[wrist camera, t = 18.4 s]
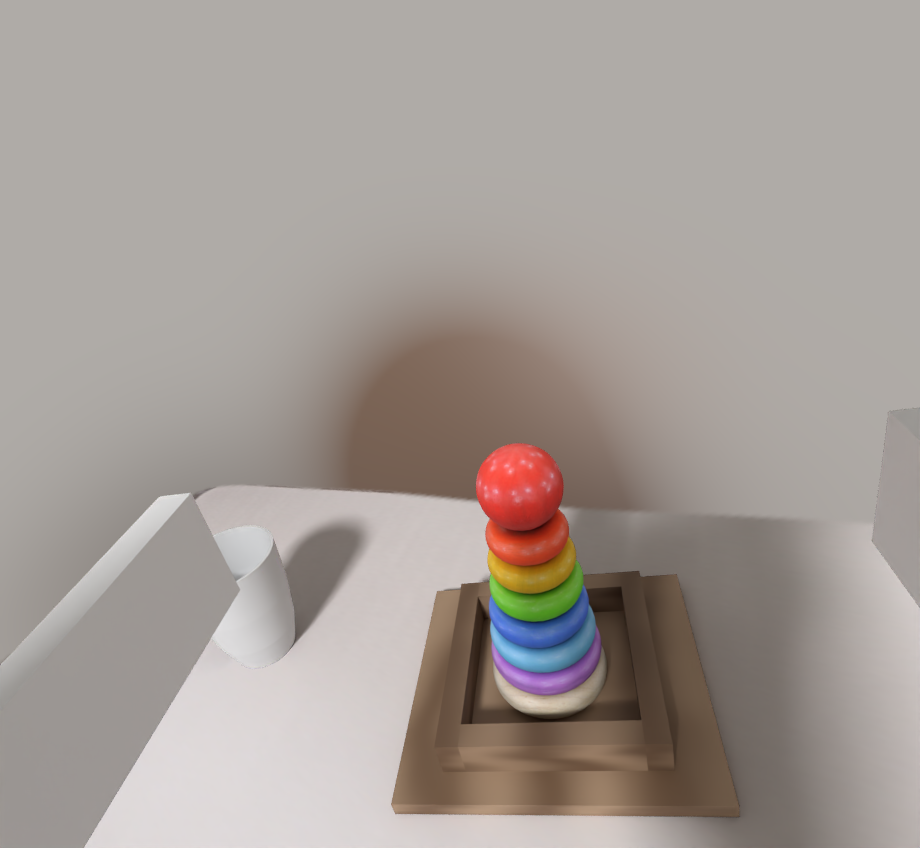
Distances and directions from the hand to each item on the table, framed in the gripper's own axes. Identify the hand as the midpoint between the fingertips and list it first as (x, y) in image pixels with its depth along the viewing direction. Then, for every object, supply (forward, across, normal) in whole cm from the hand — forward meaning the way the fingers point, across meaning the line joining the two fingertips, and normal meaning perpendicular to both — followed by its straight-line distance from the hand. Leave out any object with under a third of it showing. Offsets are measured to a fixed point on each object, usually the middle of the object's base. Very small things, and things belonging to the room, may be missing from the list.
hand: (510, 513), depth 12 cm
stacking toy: (+20, -3, -29) cm, 35 cm away
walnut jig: (+20, -3, -30) cm, 36 cm away
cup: (+25, -28, -30) cm, 48 cm away
